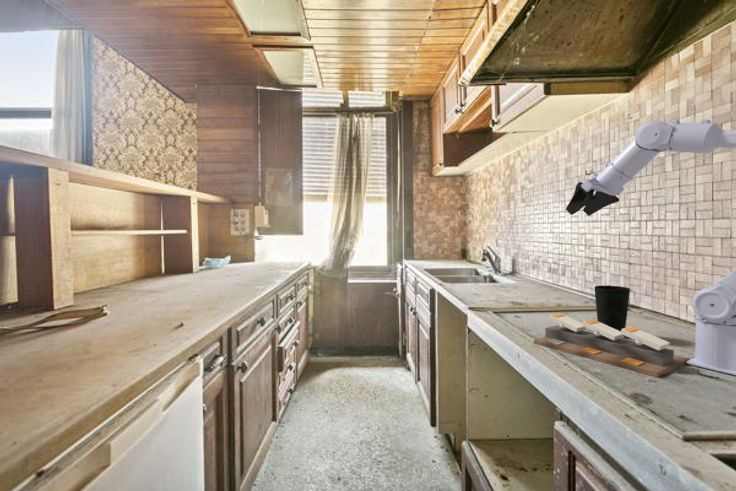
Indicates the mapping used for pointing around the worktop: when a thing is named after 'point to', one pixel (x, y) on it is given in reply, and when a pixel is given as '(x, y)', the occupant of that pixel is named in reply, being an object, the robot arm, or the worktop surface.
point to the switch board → (615, 358)
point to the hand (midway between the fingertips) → (577, 212)
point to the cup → (612, 305)
